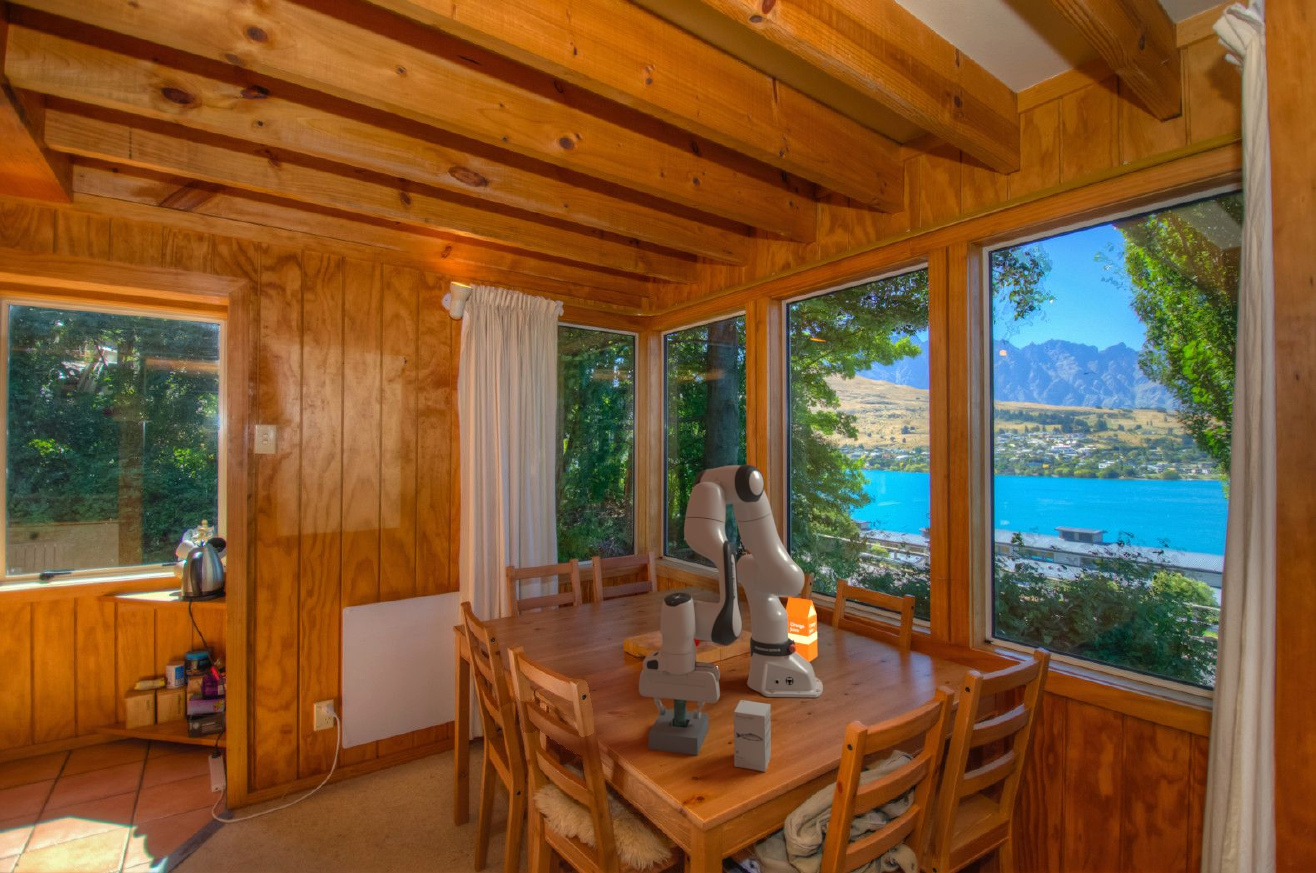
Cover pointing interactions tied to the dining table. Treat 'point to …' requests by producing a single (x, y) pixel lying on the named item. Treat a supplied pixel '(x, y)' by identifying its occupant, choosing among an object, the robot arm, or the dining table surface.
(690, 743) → the hole block
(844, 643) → the dining table surface
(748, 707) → the supplement box
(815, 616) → the orange juice
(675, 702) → the teal peg
